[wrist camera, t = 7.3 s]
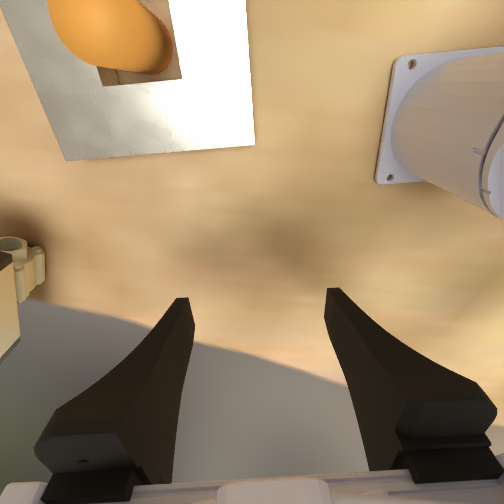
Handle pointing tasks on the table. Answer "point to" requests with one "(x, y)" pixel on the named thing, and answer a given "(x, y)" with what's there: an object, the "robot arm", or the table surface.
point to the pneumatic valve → (16, 285)
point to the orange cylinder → (112, 34)
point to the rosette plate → (143, 85)
